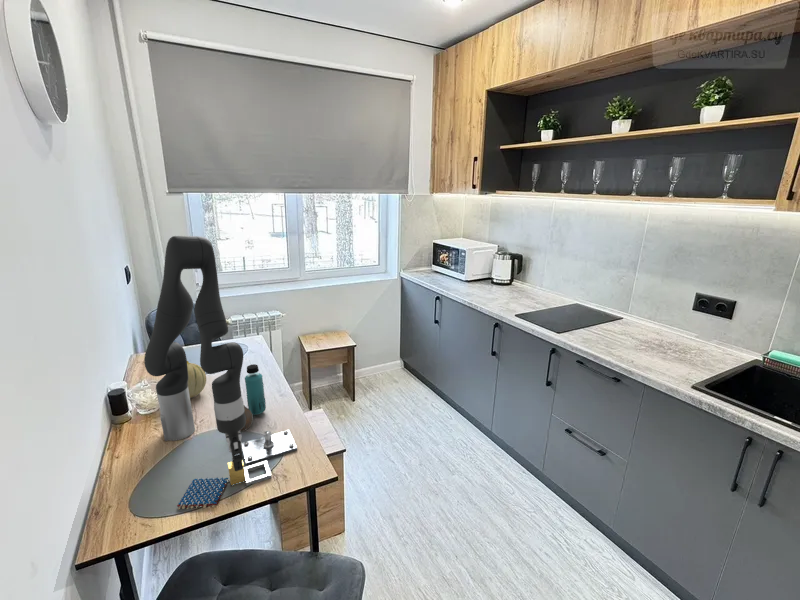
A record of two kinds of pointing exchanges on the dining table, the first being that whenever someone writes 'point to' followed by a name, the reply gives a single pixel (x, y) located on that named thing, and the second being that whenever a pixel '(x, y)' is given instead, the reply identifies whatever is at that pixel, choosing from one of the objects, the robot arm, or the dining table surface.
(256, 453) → the toggle switch
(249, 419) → the vase
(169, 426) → the robot arm
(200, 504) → the woven mat
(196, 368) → the cantaloupe
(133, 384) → the dining table surface
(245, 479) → the end link
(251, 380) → the beverage bottle
